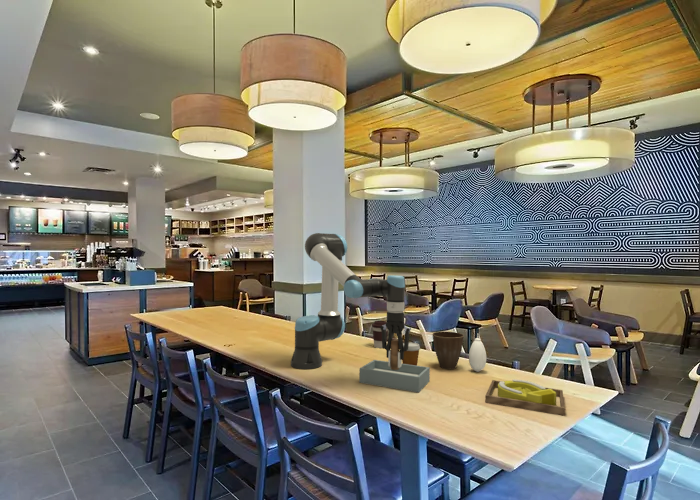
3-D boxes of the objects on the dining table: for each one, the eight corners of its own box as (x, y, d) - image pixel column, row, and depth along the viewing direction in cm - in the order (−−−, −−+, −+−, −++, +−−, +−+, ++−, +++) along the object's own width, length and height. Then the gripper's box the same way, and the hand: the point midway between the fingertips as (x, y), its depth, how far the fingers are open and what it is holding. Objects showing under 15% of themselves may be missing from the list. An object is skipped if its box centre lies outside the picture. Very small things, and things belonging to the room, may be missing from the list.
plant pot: (447, 373, 186) (448, 338, 186) (425, 365, 199) (425, 333, 199) (470, 368, 194) (470, 335, 194) (447, 361, 207) (447, 330, 207)
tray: (359, 382, 171) (359, 368, 171) (373, 372, 185) (374, 359, 186) (418, 392, 160) (419, 377, 160) (429, 381, 174) (429, 367, 174)
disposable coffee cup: (419, 373, 186) (419, 347, 186) (398, 371, 188) (399, 345, 188) (420, 367, 195) (420, 342, 195) (400, 366, 197) (400, 341, 197)
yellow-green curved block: (531, 411, 141) (531, 397, 141) (488, 392, 160) (488, 380, 160) (564, 405, 148) (564, 391, 148) (519, 387, 167) (519, 375, 167)
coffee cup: (389, 349, 233) (389, 323, 233) (372, 348, 233) (372, 322, 233) (387, 345, 243) (388, 320, 243) (371, 344, 243) (371, 320, 243)
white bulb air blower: (465, 371, 190) (466, 332, 190) (473, 367, 196) (473, 330, 196) (481, 374, 185) (482, 335, 185) (488, 371, 190) (489, 333, 191)
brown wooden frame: (485, 402, 150) (485, 395, 150) (492, 386, 169) (492, 380, 169) (564, 415, 138) (564, 408, 139) (562, 396, 157) (562, 390, 157)
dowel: (392, 367, 175) (392, 339, 175) (400, 368, 173) (400, 340, 174) (389, 369, 172) (389, 340, 172) (397, 370, 170) (397, 341, 170)
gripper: (374, 311, 173) (373, 365, 173) (411, 314, 166) (410, 371, 166) (380, 309, 180) (380, 361, 180) (416, 311, 173) (416, 366, 172)
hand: (394, 366), depth 173 cm, fingers closed on dowel, 3 cm apart
